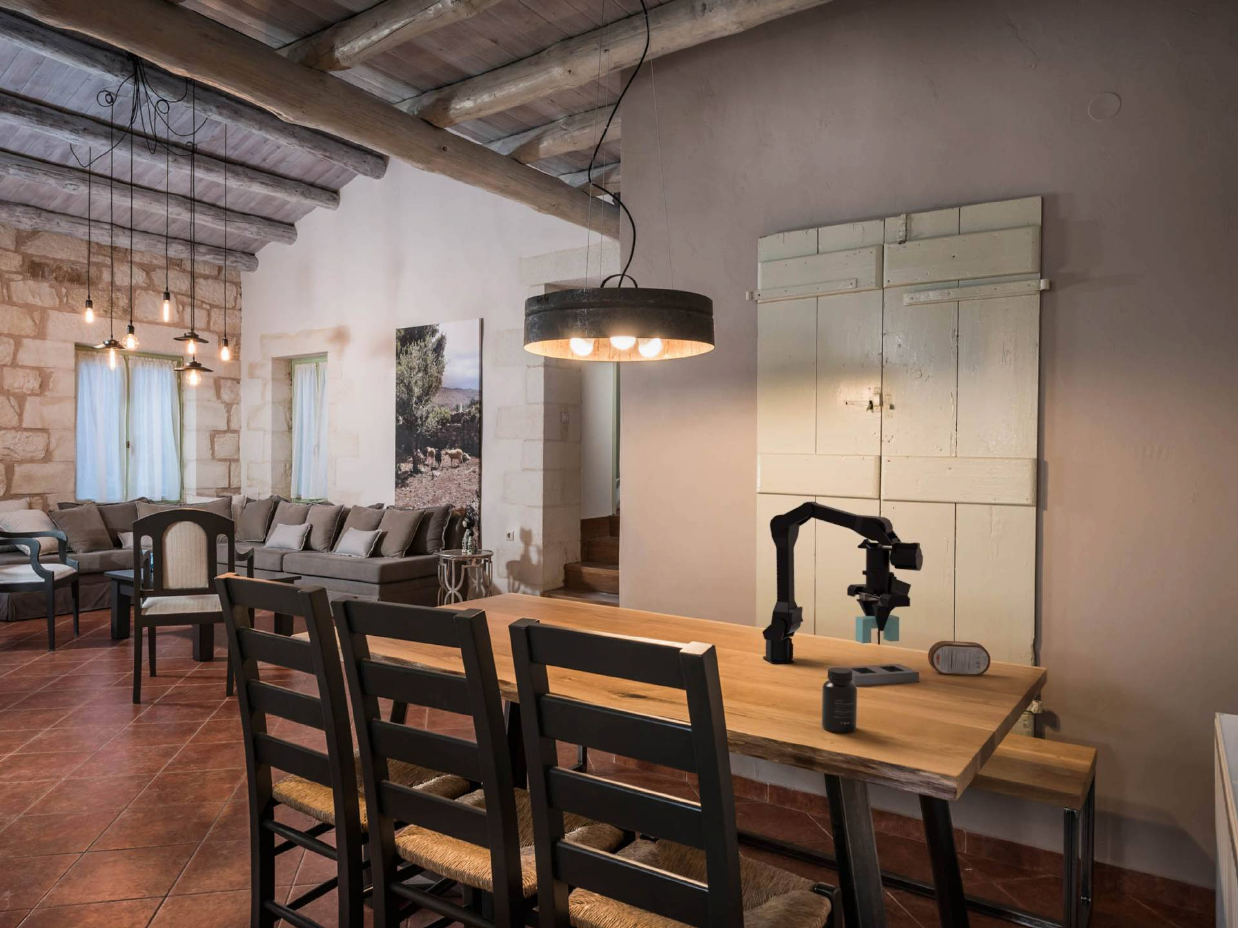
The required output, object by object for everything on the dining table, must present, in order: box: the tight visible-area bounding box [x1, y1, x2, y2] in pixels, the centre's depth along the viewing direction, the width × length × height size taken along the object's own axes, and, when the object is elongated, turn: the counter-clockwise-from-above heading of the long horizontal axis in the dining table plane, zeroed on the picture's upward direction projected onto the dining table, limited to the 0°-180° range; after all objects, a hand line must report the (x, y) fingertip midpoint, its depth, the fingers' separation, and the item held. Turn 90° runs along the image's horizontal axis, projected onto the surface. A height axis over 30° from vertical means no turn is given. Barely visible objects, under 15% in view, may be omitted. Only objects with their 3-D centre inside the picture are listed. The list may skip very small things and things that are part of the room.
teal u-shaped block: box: [855, 614, 900, 644], centre depth 200 cm, size 10×3×6 cm, turn 106°
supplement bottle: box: [821, 666, 858, 735], centre depth 162 cm, size 7×7×12 cm
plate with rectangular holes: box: [841, 663, 920, 687], centre depth 199 cm, size 18×8×2 cm, turn 106°
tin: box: [927, 640, 991, 677], centre depth 205 cm, size 15×3×8 cm, turn 84°
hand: (877, 629), depth 200 cm, fingers closed on teal u-shaped block, 3 cm apart
